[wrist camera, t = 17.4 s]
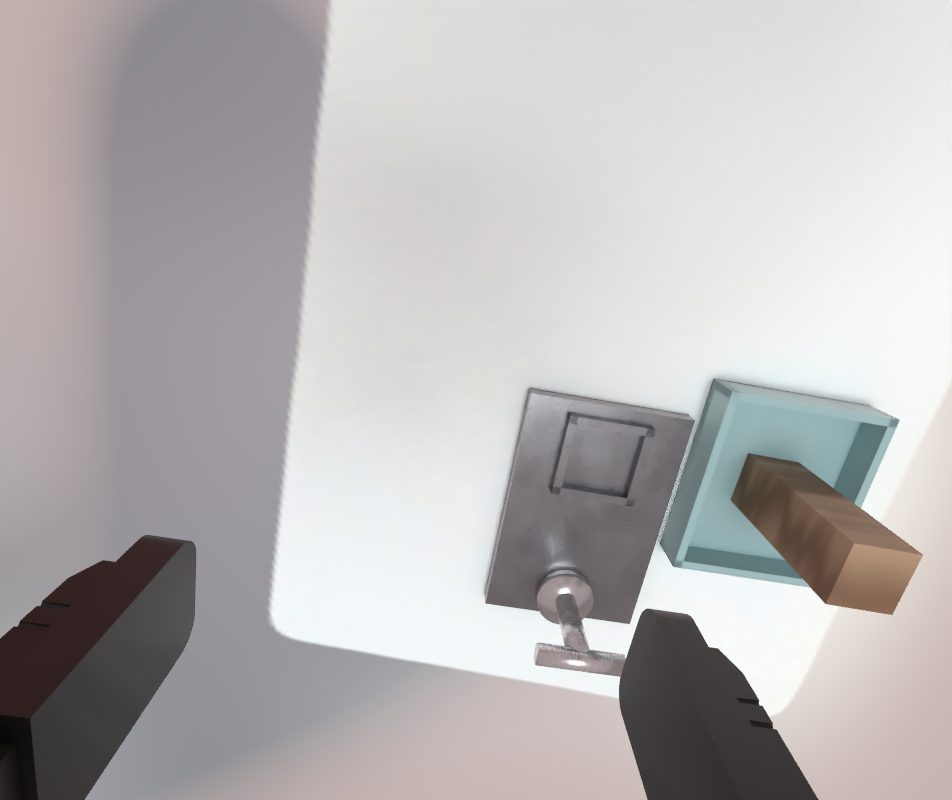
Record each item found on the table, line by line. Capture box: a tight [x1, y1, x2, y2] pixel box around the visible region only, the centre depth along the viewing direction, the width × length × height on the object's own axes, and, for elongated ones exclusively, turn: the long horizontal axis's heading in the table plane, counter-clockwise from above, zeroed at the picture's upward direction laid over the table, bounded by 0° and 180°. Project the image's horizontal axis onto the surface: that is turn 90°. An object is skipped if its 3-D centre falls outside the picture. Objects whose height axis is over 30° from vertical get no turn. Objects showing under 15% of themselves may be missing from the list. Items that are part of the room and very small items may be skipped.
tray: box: [660, 379, 899, 587], centre depth 41 cm, size 14×12×3 cm
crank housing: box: [485, 389, 694, 677], centre depth 39 cm, size 18×12×9 cm, turn 170°
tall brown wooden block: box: [731, 453, 922, 615], centre depth 36 cm, size 4×4×12 cm
